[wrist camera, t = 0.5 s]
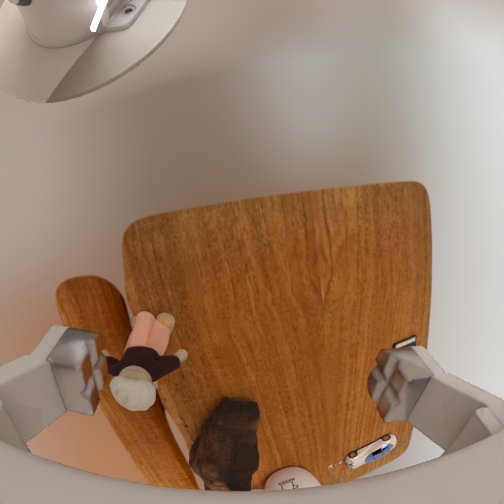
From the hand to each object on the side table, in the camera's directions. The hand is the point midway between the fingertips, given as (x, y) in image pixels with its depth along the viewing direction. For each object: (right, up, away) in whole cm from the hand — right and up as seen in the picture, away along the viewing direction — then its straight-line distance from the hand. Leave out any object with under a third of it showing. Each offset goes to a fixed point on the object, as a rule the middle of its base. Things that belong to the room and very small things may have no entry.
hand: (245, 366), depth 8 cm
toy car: (+18, -29, +32) cm, 47 cm away
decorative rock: (-4, -18, +26) cm, 32 cm away
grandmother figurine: (-10, -4, +21) cm, 24 cm away
